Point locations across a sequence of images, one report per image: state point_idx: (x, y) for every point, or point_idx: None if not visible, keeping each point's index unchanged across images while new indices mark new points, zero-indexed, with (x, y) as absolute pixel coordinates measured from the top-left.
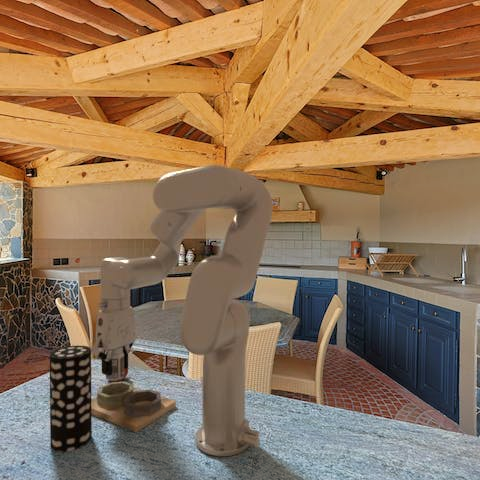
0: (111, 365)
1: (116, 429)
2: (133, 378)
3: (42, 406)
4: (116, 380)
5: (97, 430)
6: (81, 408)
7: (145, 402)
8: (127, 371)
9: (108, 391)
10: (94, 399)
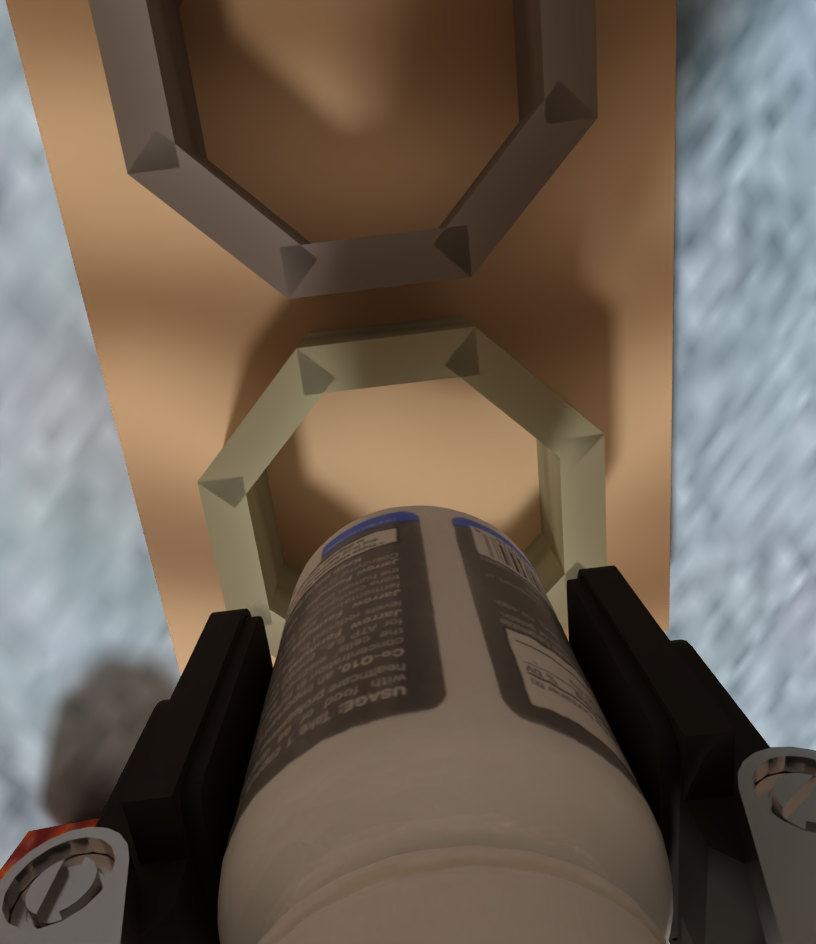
0: (641, 659)
1: (712, 33)
2: (4, 767)
3: None
4: None
5: (809, 178)
6: None
7: (259, 146)
8: (26, 844)
9: None
10: None
